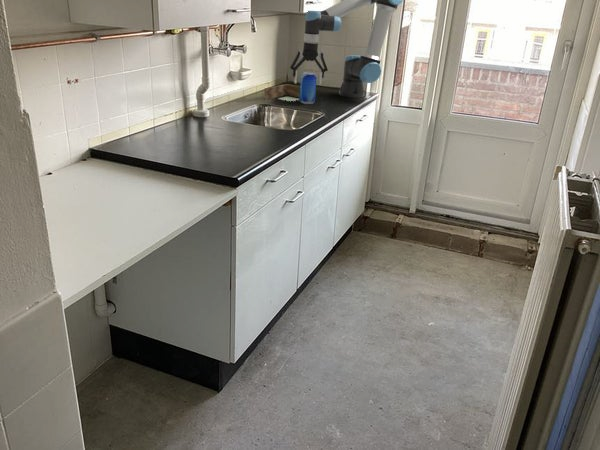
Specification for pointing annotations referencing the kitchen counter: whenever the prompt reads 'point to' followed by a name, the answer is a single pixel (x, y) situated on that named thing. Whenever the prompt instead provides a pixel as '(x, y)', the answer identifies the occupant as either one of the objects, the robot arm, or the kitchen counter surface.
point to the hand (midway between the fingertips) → (307, 83)
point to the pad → (289, 98)
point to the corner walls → (282, 91)
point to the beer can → (308, 88)
